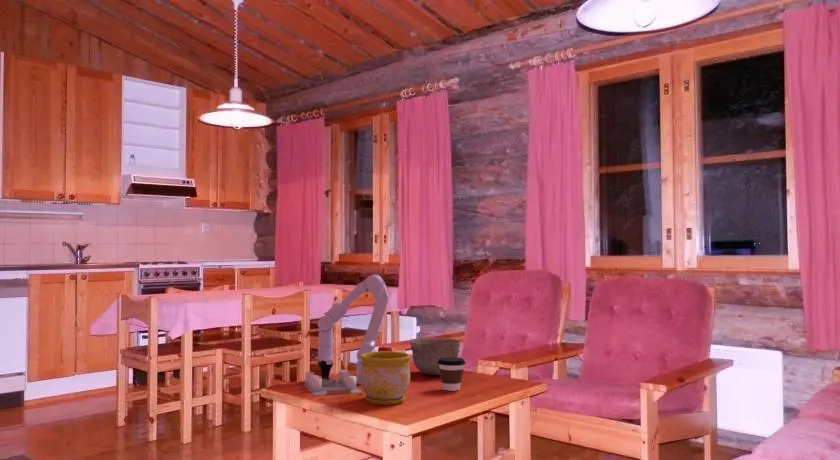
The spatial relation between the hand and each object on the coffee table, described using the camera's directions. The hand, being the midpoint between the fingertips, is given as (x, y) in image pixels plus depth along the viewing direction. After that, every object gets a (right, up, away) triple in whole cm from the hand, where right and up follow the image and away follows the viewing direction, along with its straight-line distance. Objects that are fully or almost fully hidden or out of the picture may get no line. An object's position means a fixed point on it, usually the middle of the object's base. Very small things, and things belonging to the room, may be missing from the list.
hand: (325, 380), depth 265 cm
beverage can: (+23, -3, +25) cm, 34 cm away
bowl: (+44, -3, +24) cm, 50 cm away
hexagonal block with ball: (+2, -1, -6) cm, 7 cm away
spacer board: (+4, -2, -11) cm, 12 cm away
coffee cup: (+50, -2, -8) cm, 51 cm away
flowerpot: (+26, -1, -28) cm, 38 cm away
